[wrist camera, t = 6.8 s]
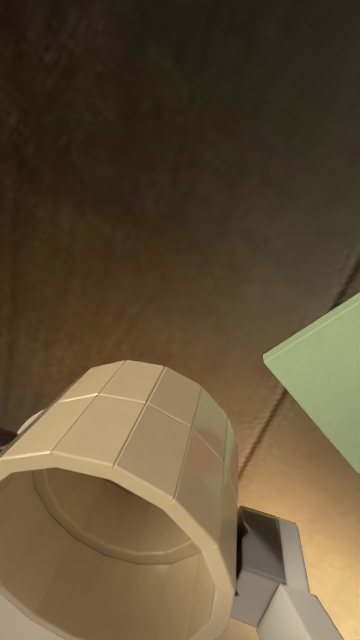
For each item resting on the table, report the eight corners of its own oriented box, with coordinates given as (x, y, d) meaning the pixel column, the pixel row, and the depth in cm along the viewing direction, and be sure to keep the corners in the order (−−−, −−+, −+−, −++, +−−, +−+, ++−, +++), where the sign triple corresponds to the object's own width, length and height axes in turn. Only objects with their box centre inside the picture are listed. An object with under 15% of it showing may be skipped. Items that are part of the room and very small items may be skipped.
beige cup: (152, 316, 9) (78, 397, 5) (276, 460, 10) (299, 631, 6) (35, 412, 12) (-82, 521, 7) (143, 522, 12) (93, 678, 8)
